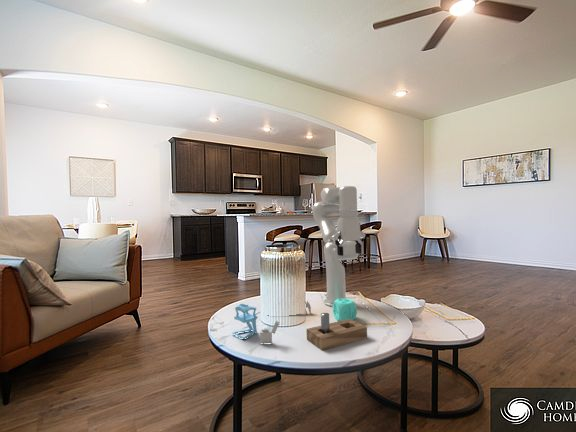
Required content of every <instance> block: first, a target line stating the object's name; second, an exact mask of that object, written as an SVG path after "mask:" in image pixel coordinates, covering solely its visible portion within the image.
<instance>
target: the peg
mask: <svg viewBox="0 0 576 432" xmlns="http://www.w3.org/2000/svg"><path fill="white" fill-rule="evenodd" d="M329 324H330V313H328V312H321V313H320V326H321V333H323V334H326V333H330V325H329Z"/></svg>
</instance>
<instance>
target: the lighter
mask: <svg viewBox="0 0 576 432" xmlns="http://www.w3.org/2000/svg"><path fill="white" fill-rule="evenodd" d="M279 325H280V321H278V320H275V323H274V325H273V327H272V329H271V330H270V329H269V328H268V327H267V328H266V327H265V328H262V330H260V332H259V342H260V343H272V344H273V335H274V334H276V331H277V329H278V328H279Z"/></svg>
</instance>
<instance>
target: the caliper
mask: <svg viewBox="0 0 576 432" xmlns="http://www.w3.org/2000/svg"><path fill="white" fill-rule="evenodd" d="M304 304H306V309H308V312H307V310H306V313H305V314H306V315H307V313H309V314H311V313H312V312H311V311H312V307H311V304H310V302H309V301H308V300H306V301H304Z"/></svg>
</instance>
